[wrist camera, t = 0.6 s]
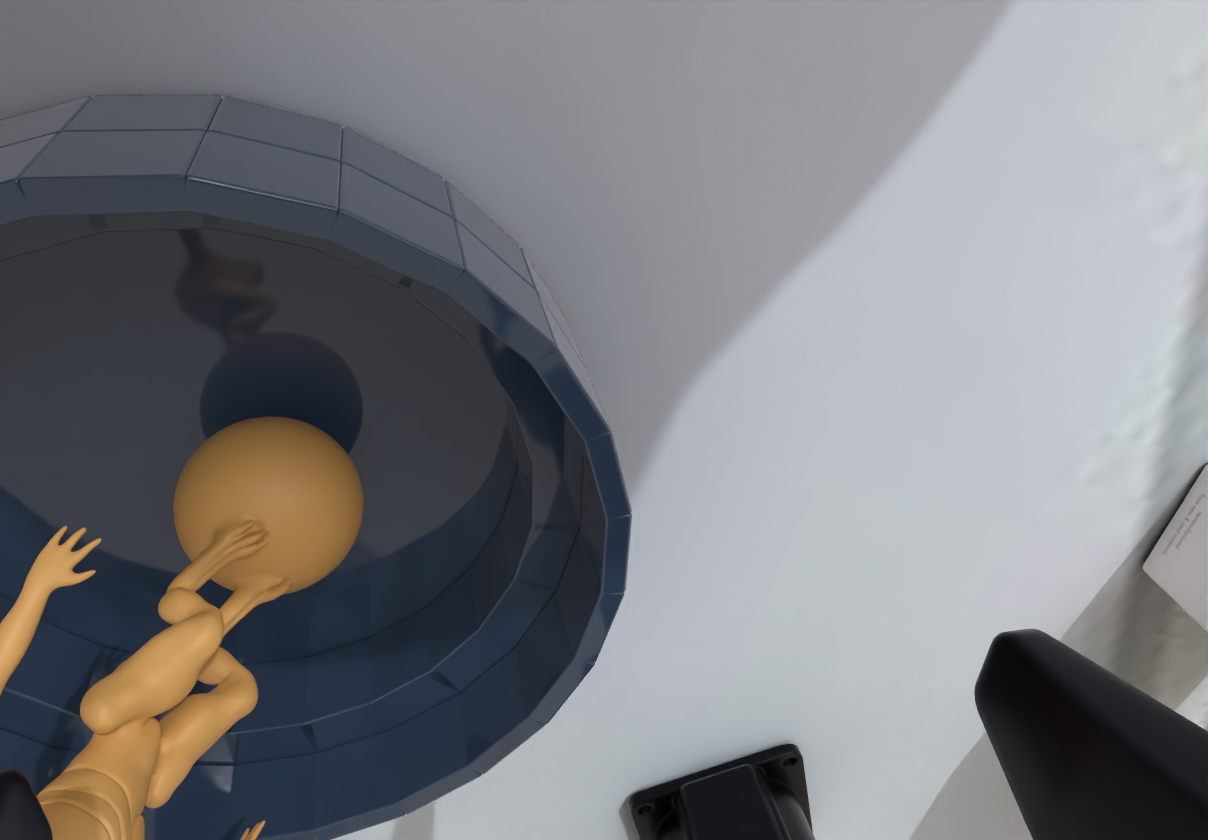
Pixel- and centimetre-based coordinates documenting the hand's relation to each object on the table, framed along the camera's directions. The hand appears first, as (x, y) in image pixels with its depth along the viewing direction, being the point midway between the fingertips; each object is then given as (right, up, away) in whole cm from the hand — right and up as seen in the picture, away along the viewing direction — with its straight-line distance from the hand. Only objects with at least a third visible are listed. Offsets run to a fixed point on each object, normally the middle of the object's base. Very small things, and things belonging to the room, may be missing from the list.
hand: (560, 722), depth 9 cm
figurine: (-8, +2, +14) cm, 16 cm away
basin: (-8, +2, +14) cm, 16 cm away
